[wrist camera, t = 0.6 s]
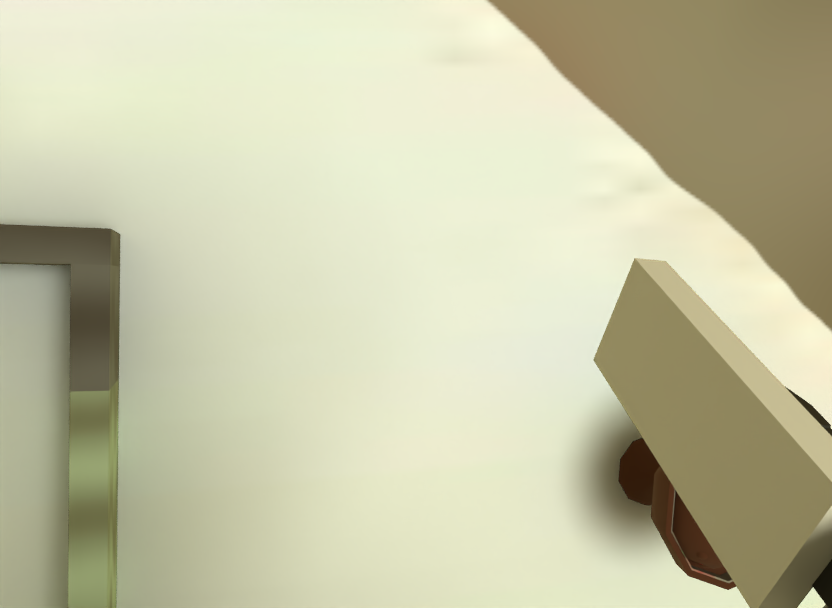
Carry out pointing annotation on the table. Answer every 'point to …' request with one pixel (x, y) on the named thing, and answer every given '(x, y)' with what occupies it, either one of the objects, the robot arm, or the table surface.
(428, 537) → the table surface
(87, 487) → the shallow tray
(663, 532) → the ice cream bowl
